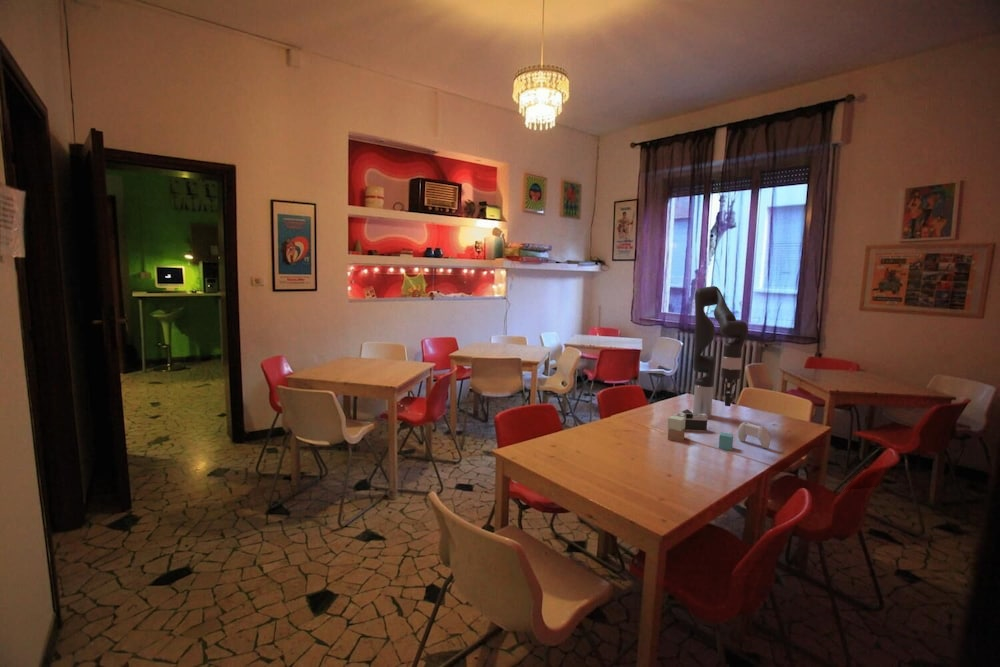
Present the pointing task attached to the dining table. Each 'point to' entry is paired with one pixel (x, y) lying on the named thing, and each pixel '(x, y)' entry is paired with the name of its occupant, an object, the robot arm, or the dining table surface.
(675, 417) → the sage block
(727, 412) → the dining table surface
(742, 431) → the game controller
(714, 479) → the dining table surface
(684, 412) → the camera
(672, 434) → the walnut base block
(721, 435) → the teal block
